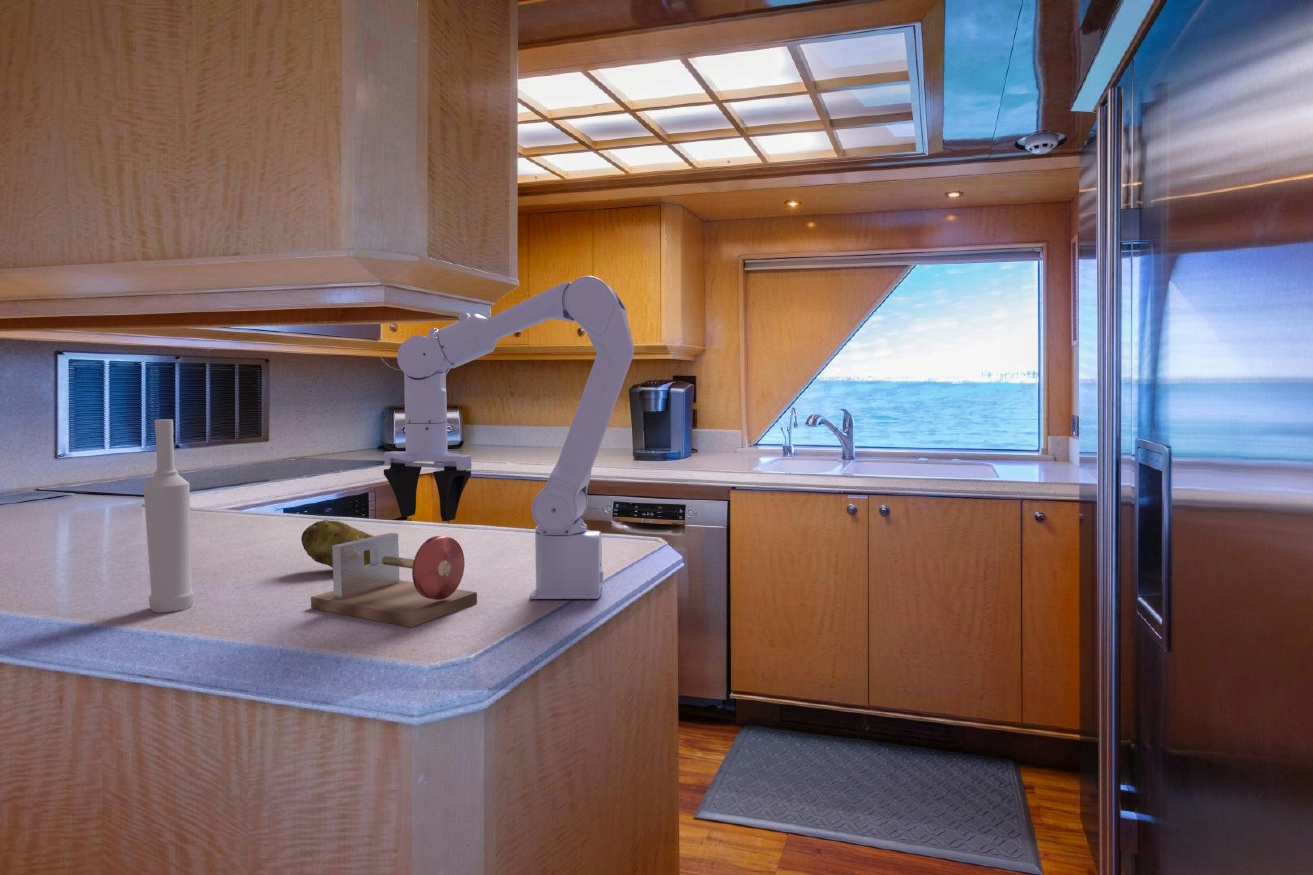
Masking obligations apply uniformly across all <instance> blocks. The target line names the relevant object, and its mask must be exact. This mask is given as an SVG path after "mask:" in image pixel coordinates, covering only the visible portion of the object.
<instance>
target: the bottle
mask: <svg viewBox="0 0 1313 875" xmlns="http://www.w3.org/2000/svg"><path fill="white" fill-rule="evenodd" d="M154 433H155V434H154V435H155V446H156V447H155V448H156V449H155V450H156V451H155V452H156V468H157V469H156V471H154V472H153V474H154V475H153V476H152V477H151V478H150V479H149V480H148V481H147V482H146V483H144V485H143V500H144V512H145V523H146V524H145V526H146V528H145V529H146V538H147V539H146V541H147V550H148V551H147V553H148V554H147V555H148V568H149V580H150V582H149V583H150V595H149V596H148V602H149V603H148V604H149V607H150V610H151V612H153V613H160V614H161V613H173V612H180V611H183V610H187V609H189V608H192V607H193V605H194V604H195V603H194V602H195V591H194V590H193V589H192V585H193V584H192V545H191V544H192V541H191V540H192V539H191V501H190V500H191V494H190V492H191V491H190V488H191V486H190V482H188V481H187V480H186V479H185V478H183V477H182V476H181V475H180V474H179V471H178V470H177V469H176V467H175V450H174V449H175V447H174V445H175V444H174V420H173V419H171V418H170V419H169V418H168V419H154Z"/></svg>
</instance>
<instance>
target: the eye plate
mask: <svg viewBox="0 0 1313 875" xmlns="http://www.w3.org/2000/svg"><path fill="white" fill-rule="evenodd" d="M373 536H374V537H369V538H364V539H360V540H355V541H351V542H346V543H342V544H337V545H333V546H332V553H333V568H332V576H333V577H332V578H333V579H332V580H333V591H334V598H336V599H341V600H342V599H346V598H349V597H352V596H356V595H359V594H362V593H366V592H369V591H373V590H376V589H379V588H383V587H386V586H390V585H393V584H396V583H399V580H400V567H397V566H390V565H384V564H383V563H382V558H383V557H384V556H392V557H399V558H400V552H399V546H400V545H399V533H397V532H396V533H395V532H388V533H383V534H379V535H373ZM366 550H370V564H368V565H364V551H366Z"/></svg>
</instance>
